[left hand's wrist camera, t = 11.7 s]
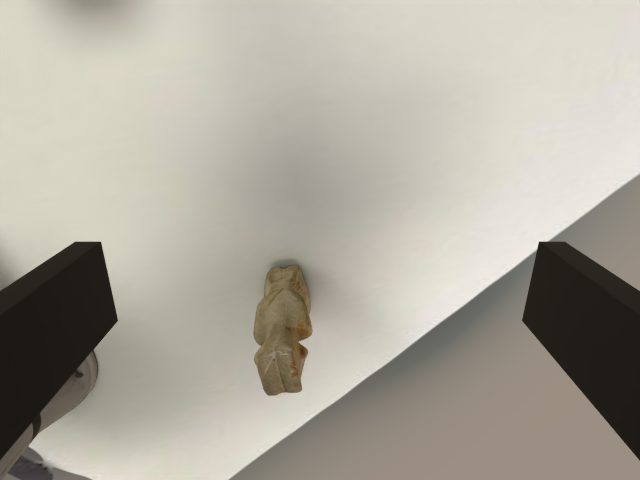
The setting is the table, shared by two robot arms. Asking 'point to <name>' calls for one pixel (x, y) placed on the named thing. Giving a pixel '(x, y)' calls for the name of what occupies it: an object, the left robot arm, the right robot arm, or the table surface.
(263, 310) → the sculpture
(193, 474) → the table surface
